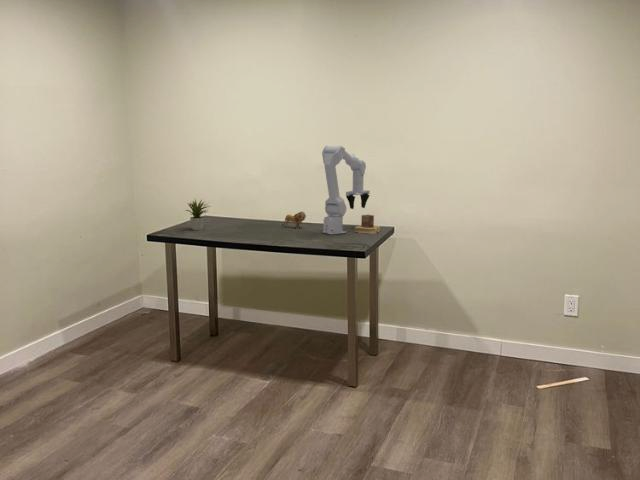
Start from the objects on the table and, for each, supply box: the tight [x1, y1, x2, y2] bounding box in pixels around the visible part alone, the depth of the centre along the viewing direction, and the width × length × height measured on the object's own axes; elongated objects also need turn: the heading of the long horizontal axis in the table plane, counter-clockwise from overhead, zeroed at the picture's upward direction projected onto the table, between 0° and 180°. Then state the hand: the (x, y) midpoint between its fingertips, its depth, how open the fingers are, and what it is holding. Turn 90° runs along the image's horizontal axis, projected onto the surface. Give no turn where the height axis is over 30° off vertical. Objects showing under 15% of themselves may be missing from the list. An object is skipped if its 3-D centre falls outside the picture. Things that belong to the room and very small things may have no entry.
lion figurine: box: [281, 211, 307, 229], centre depth 322 cm, size 15×5×9 cm, turn 64°
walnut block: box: [360, 214, 375, 228], centre depth 309 cm, size 4×4×6 cm
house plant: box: [184, 198, 211, 231], centre depth 312 cm, size 14×14×16 cm
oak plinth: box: [353, 224, 381, 235], centre depth 310 cm, size 11×11×3 cm
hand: (357, 208), depth 322 cm, fingers open, 7 cm apart
